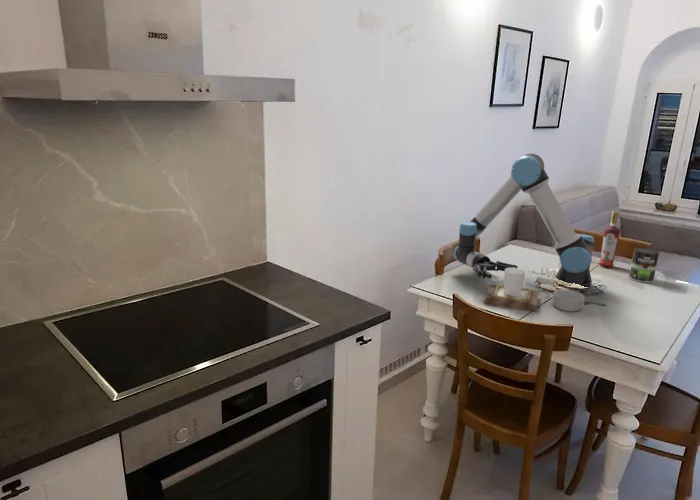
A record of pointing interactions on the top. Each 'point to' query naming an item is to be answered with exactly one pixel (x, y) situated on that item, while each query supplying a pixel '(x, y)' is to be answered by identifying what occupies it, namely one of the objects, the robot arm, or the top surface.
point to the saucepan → (571, 300)
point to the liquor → (610, 243)
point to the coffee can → (644, 265)
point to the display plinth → (512, 298)
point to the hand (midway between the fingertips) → (510, 277)
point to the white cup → (513, 281)
